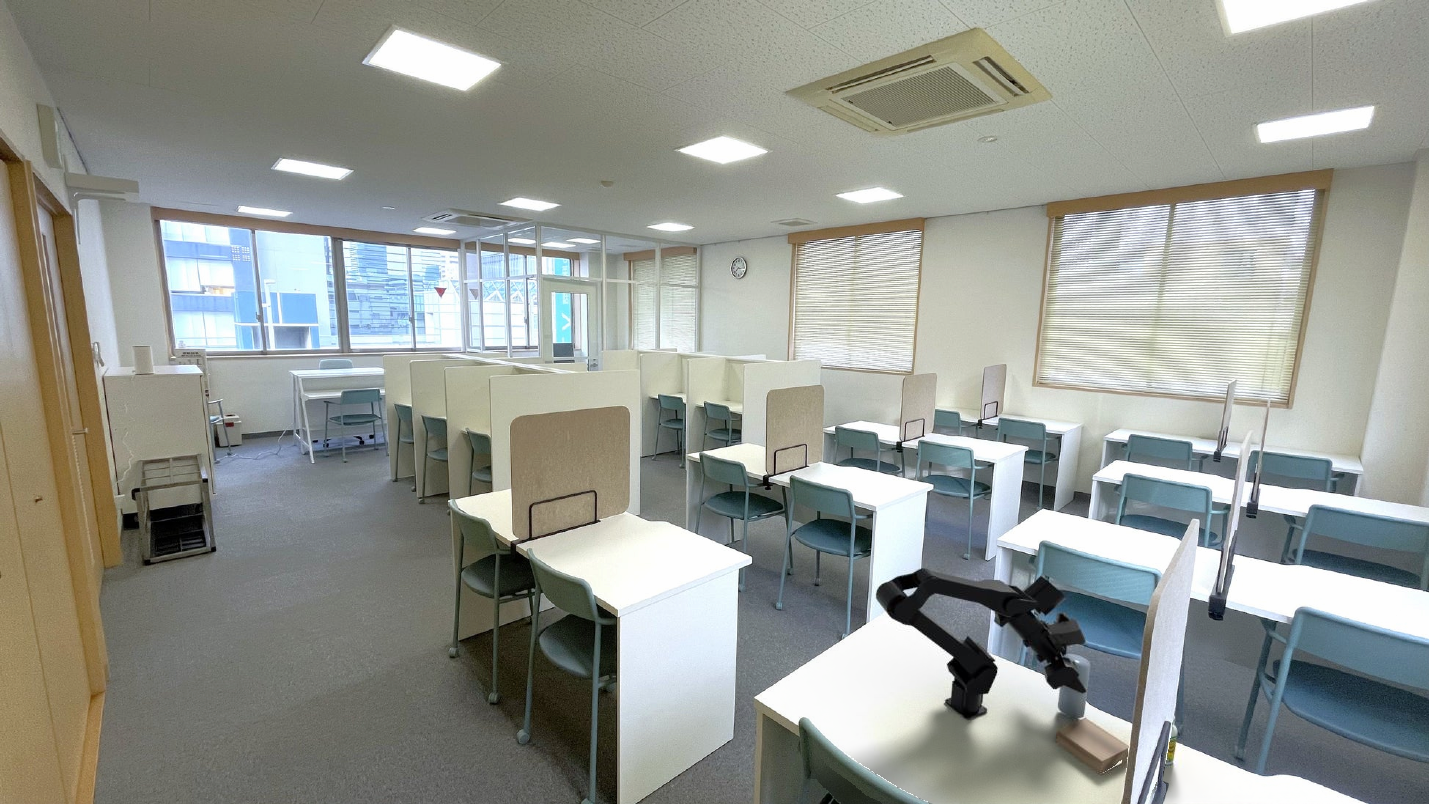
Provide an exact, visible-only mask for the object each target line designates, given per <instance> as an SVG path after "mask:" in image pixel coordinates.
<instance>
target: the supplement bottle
mask: <svg viewBox="0 0 1429 804" xmlns="http://www.w3.org/2000/svg"><path fill="white" fill-rule="evenodd" d="M1175 722H1176V716H1175V715H1174V719H1173V722H1172V735H1171V738H1170V742H1169V749H1168V753H1167V760H1166V765H1165V766H1167V765H1168V766H1169V765H1171V764H1172V763H1174V759H1175V753H1176V746H1177V738H1178V728H1177V727H1176V725H1175Z"/></svg>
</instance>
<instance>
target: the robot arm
mask: <svg viewBox="0 0 1429 804" xmlns="http://www.w3.org/2000/svg"><path fill="white" fill-rule="evenodd" d="M912 589H915V590H914V591H913V593H912V594H910V595H908V594H907V593H905V591H907V590H912ZM934 595H940V596H943V597H944V596H945V597H950V598H954V599H958V600H962V601H967V602H972V603H974V604H975V603H976V604H979V605H981V606H983V607H986V608H988V609H989V610H990V611H993V613H994V619H993V622H994V623H995V624H996V625H997V626H999V627H1000V628H1003V627H1004V626H1006V625H1008V626H1009V627H1010V628H1011V629H1012V630H1013V632H1015V633H1016V634H1017V636H1018V637H1019V638H1020V639H1021V640H1022V643H1023V645H1024V646H1025V648H1029V649H1031V651H1032V653H1034V654H1035V657H1036V659H1037V661H1038V662H1039V664H1040V663H1043V662H1044V661H1046V663H1047V665H1046V666H1044V667H1043V676H1044V678H1045V682H1046V683H1047V684H1048V685H1049V686H1050V687H1051V689H1052V690H1058V689H1060V687H1062V686H1063V685H1064V686H1067V687H1069V688H1071V689H1073V690H1076V691H1078V692H1080V693H1082V694H1083V693H1085V692H1087V693H1088V690H1087V691H1086V689H1085V687H1084V686H1083V684H1082V683H1081V681H1080V680H1079V678H1078V676H1079V672H1078V670H1077V667H1076V665H1075V662H1074V661H1073V662H1072V661H1071V660H1070V659H1069V658H1066V657H1063V656H1064V655H1066V654H1068V653H1067V650H1068V649H1067V648H1068V646H1074V645H1083V644H1086V642H1087V640H1086V638H1085V636H1084V633H1083V632H1082V629H1081V626H1080V625H1079V622H1078V621H1077V619H1074V617H1070V616H1069V615H1067V614H1066V613H1065V612H1059V613H1056V616H1055V617H1056V618H1055V621H1053V623H1051V622H1046V621H1045V620H1043V619H1041V620H1040V619H1039V618H1038V617H1037V616H1036V615H1041V614H1042V615H1043V616H1044V617H1046V616H1047V615H1049V614H1050V613H1051V612H1052V611H1053V610H1054V609H1055V608H1057V607H1058V606H1059V605H1060V604H1061V603H1062V602H1064V601H1065V600H1066V599H1067V597H1066V596H1065V594H1064V593H1063V592H1062V591H1061V590H1059V589H1058V588H1057V587H1056V586H1054V585H1053V583H1051V582H1050V581H1049V579H1047V578H1045V577H1044V576H1042V575H1040V576H1039V577H1037V579H1035V581H1034V582H1033V583H1031V585H1030V586H1028V587H1027V588H1026V589H1025V590H1022V589H1021V588H1019V587H1018V586H1017V585H1015V584H1014V585H1013V584H1006V583H1005V582H1004V581H1002V580H999V579H988V578H985V579H983V580H971V579H968V578H965V577H964V578H963V577H959V576H955V575H950V574H947V573H943V572H938V571H935V570H930V569H928V568H925V567H924V568H923V567H922V568H919V569H917V570H915V571H914V572H912V573H907V574H906V573H905V574H902V575H897V576H895V577H893V578H892V579H891V580H890V579H889V581H886V582H884V583H883V582H882V583H881V584H880V585H879V586H878V587H877V589H876V591H875V599H876V601H877V602H878V604H879V605H880V606H881V607H882V608H883V610H884V611H885V613H886V614H887V615H888V616H889V617H890V618H891V619H892V620H894V621H896V622H898V623H900V624H901V625H904V626H909V627H913V628H914V629H915V630H917V631H918V632H919V633H921V634H922V635H924V636H925V637H926V638H927V639H929V640H930V641H932V643H934V644H936V645H937V646H938V647H939V648H941V649H942V650H943V651H944V652H946V653H947V654H949V655H950V656H952V658H951V659H950V660H949V661H948V662H947V663H946V667H947V670H948V672H949V673H950V674H951V675H952V676H953V677H954V678H953V680H952V682H951V691H950V697H949V698H948V697H947V698H946V699H944V702H945V704H947V705H948V706H949V707H950V708H951V709H952V710H954V711H955V712H957V713H958V714H959V715H960V716H962V717H963V718H964V719H965V720H970V719H972V718H975V717H978V716H980V715H983V714H985V713H988V708H987V707H985V706H984V705H982V704H983V700H984V695H989V693H990V691H991V688H992V686H993V683H994V682H995V679H996V677H997V675H998V670H999V667H998V666H997V665H996V663H995V662H996V659H995V658H994V657H993V656H992V655H991V654H990V653H989V652H988V651H987V650H986V649H985V648H984V647H983V646H982V645H981V644H980V643H979V642H976V641H974V640H973V639H972V638H971V636H969V635H967V636H966V638H965V639H960V638H958V636H956V635H954V633H952V632H951V631H949V630H948V629H947V628H945V627H944V626H943V625H941V624H940V623H939V622H938V621H936V620H935V619H934V618H933V617H931V616H930V615H929V614H927V613H926V612H925V611H923V610H922V607H923V606H924V605H925V604H926V602H927V600H929V598H930V597H931V596H934ZM1034 613H1036V615H1035V614H1034Z"/></svg>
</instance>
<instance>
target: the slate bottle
mask: <svg viewBox="0 0 1429 804" xmlns="http://www.w3.org/2000/svg"><path fill="white" fill-rule="evenodd" d="M1063 657H1066V658H1069V659H1070V660H1071V661H1072V662H1073V661H1074V662H1075V665H1076V667H1077V670H1078V672H1079V676H1078V678H1079V680H1080V681H1081V683H1082V684H1083V686H1084V687H1085V689H1086V691H1087V692H1085V693H1083V694H1082V693H1080V692H1078V691H1076V690H1073V689H1071V688H1069V687H1067V686H1064V685H1063V686H1062V687H1060V688H1059V692H1058V701H1057V708H1058V710H1059V711H1060V712H1061V713H1063V714H1064V715H1066V716H1068V717H1070V718H1073V719H1083V718H1085V713H1086V712H1085V711H1086V702H1087V695H1088V686H1089V678H1090V671H1091V663H1090V661H1089V660H1088V659H1086V658H1085V657H1083V656H1081V655H1077V654H1074V653H1067V654H1066V655H1064V656H1063Z"/></svg>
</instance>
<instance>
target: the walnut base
mask: <svg viewBox="0 0 1429 804" xmlns="http://www.w3.org/2000/svg"><path fill="white" fill-rule="evenodd" d="M1055 743H1056V745H1058V746H1060V748H1062V749H1064V750H1065V751H1067V753H1069V754H1071V755H1072V756H1073V757H1075V758H1076V759H1078V761H1080V762H1081V763H1083V764H1085V765H1086V766H1087V767H1089V768H1090V769H1091V770H1093V771H1094V772H1095V771H1096V772H1095V773H1097V774H1098V775H1100V774H1101V775H1102V773H1103V772H1105V771H1107V770H1108V769H1110V768H1112V767H1113V766H1115V765H1116V764H1117V763H1118V762H1119V761H1121V760H1122V764H1125V763H1126V762H1128V761H1127V757H1128V748H1129V746H1130V745H1128V744H1127V743H1125V742H1124V741H1122V740H1121V739H1119V738H1118V737H1116V736H1114V735H1113V734H1112V733H1109V732H1108V731H1107V730H1105V729H1104V728H1102V727H1100V726H1099V725H1097V724H1096V723H1095V722H1093V721H1091V720H1090V719H1088V718H1087V717H1082V718H1080V719H1079V720H1077V721H1074V722H1073V723H1070V724H1068V725H1065V726H1064V727H1060V728H1059V729H1057V731H1056V739H1055ZM1107 772H1108V771H1107ZM1105 773H1106V772H1105ZM1103 774H1104V773H1103Z"/></svg>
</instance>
